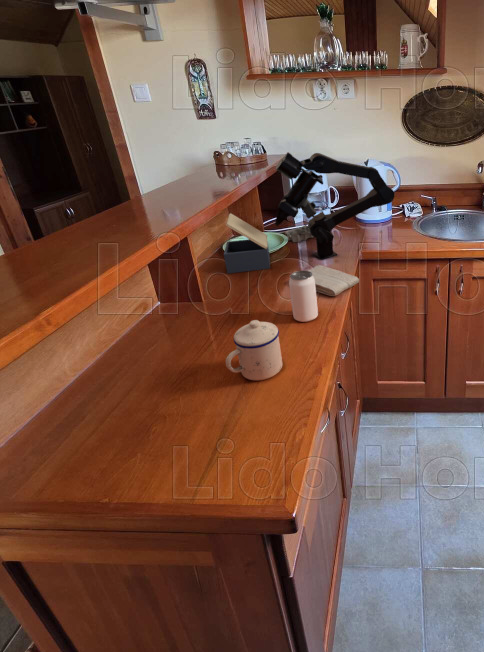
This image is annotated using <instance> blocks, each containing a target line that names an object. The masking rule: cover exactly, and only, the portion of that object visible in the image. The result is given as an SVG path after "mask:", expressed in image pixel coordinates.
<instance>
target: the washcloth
mask: <svg viewBox="0 0 484 652" xmlns="http://www.w3.org/2000/svg"><path fill="white" fill-rule="evenodd" d="M307 271H310V272H311V273H312V276H313V277H314V279H315V287H316V293H317V292H318V293H321V294H322V295H327V296H330V297H336V296H338V295H340V294H342V293H343V292H345V291H346V290H349V289H351V288H352V287H354V286H356V285H357V284H359V282H360V279H359V277H358V276H356V275H353V274H350V273H347V272H344V271H341V270H338V269H335V268H331V267H328V266H325V265H322V264H320V265H315V266H313V268H311V269H309V270H307Z"/></svg>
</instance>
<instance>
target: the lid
mask: <svg viewBox="0 0 484 652" xmlns="http://www.w3.org/2000/svg"><path fill="white" fill-rule="evenodd" d="M225 226H226V227H227V228H229V229H231V230H232V231H234V232H236V233H238V234H240V235H241V236H243V237H245V239H247V240H248V239H250V240H251V241H253V242H255V243H256V244H258V245H260V246H261V247H263V248H265V249H267V247H269V242H268V243H267V241H268V235H267V234H266V233H264V232H263V231H262V230H259V229H257V228H256V227H254V226H253V225H251V224H250V223H248V222H246V221H244V220H242V219H241V218H239V217H238V216H236V215H235V214H233V213H229V214H228V217H227V220H226V224H225Z"/></svg>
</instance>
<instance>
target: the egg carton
mask: <svg viewBox="0 0 484 652" xmlns="http://www.w3.org/2000/svg"><path fill="white" fill-rule="evenodd" d="M285 235H286V237H288V238H287V240H288V241H292V242H293V243H300V242H301V241H307V240H308V239H309V238H310V239H313V238H314V237H313V236H312V235H311V233H310V231H309V228H308V224H304V225H303V226H299V227H296V228H293V229H288V230H286V231H285Z"/></svg>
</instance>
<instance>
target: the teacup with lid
mask: <svg viewBox="0 0 484 652" xmlns="http://www.w3.org/2000/svg"><path fill="white" fill-rule="evenodd" d="M279 336H280V330H279V328H278V326H277V325H275V324H274V323H272V322H268V321H259V320H258V319H254V320H253V319H252V320H251V321H250V322H249V323H248V324H245V325H243V326H241V327H240V328H238V329H237V330H236V332H235V333H234V335H233V343H234V344H235V347H236V349H235V350H233V351H231V352H230V353H229V354H228V355H227V357H226V358H225V366H226V368H227V370H228V371H230V372H232V373H234V374H235V373H236V374H237V373H241V375H242V376H243V377H244V378H245V379H247V380H250V381H264V380H268V379H270V378H272V377H274V376H275V375H277V374H279V373H280V371H281V370H282V368H283V358H282V351H281V345H280V338H279ZM236 356H237V357H238V361H239V366H237V367H233V366H232V361H233V359H234V358H235V357H236Z"/></svg>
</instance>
